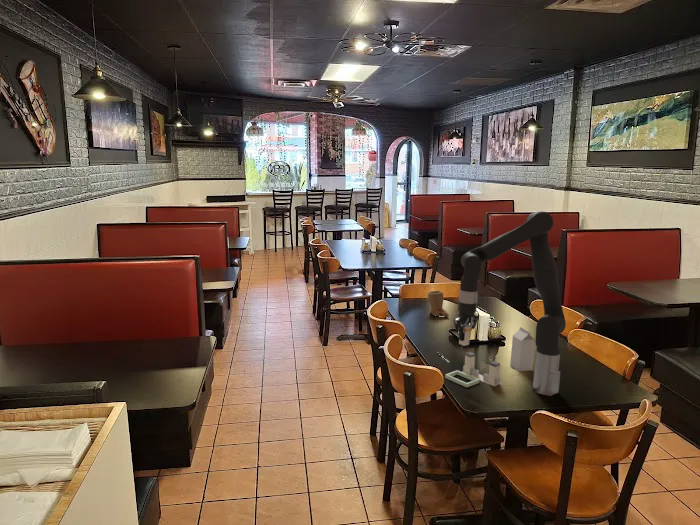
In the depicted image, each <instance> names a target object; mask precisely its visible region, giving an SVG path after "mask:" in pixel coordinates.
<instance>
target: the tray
mask: <svg viewBox="0 0 700 525" xmlns="http://www.w3.org/2000/svg"><path fill="white" fill-rule="evenodd" d="M457 375H458V376H460V377H462V378H465V379H466V380H469V382H465V381H463V380H461V379H459V378H456V377H455V376H457ZM444 378H445V379H446V380H448V381H451V382H453V383H456V384H458V385H461V386H463V387H464V388H469V387H472V386H475V385H477V384H479V383H480V380H479V379H477V378H475V377H472V376H470V375H468V374H465V373H463V371H460V370H458V369H456V370H454V371H451V372H449V373H445V374H444Z"/></svg>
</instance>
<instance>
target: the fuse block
mask: <svg viewBox="0 0 700 525" xmlns="http://www.w3.org/2000/svg"><path fill="white" fill-rule="evenodd" d="M464 356H465V357H464V358H465V359H464V365H462V372H463V373H465V374H468V375H470V376H472V377H475V378H477V379H479V382H480V381H481V382H483V383H485V384H487V385H491V386H492V387H497V386H500V385H502V383H503V382H501V378H499V377H500V367H501V363H500V362H499V361H495V360H493V361H490V362H489V366H488V372H487V373H483V375H482V374H480V370H479V369H476V368H475V363H476V353H474V352H471V351H468V352H465V355H464Z"/></svg>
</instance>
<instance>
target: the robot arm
mask: <svg viewBox="0 0 700 525" xmlns="http://www.w3.org/2000/svg"><path fill="white" fill-rule="evenodd" d="M553 226H554V218H553V216H552V214H550V213H548V212H546V211H543V210H542V211H540V210H539V211H535V212H532V213H530V214H529V215H528V216H527V218H526V221H525V222H524V223H523V224H521V225H520V226H518V227H516V228H515V229H513V230H512V229H511V230H510V231H507V232H506V233H503V234H501V235H499V236H497V237H495V238H493V239H492V240H490V241H488V242H486V243H484V244H483V245H481V246H478V247H476V248H473V249H470V250H469V251H467V252H466V253H464V254H463V255H462V256H461V258H460V263H461V266H463V275H462V276H461V279H460V286H459V293H458V305H457V310H458V316H457V318H454V319H453V324H454V328H455V331H457V332H459V334H458V341H459V340H461V341H464V337H465V333H464V332H465V328H466V327H467V324H470V327H471V329H470V336H471V335H472V334H471V332H472V331H473V330H475V329H476V325H477V322H478V320H479V315H477V314H475V313H477V307H478V306H477V305H478V288H479V278H480V275H481V272H482V263H484V262H486V261H493V260H495V259H496V258H498V257H500V256H502V255H503V254H505V253H507V252H508V251H510V250H511V249H513V248H516V246H519V245H520V244H522V243H524V242H526V241H528V240H529V244H530V251H531V252H530V253H531V256H530V257H531V264H532V274H533V281H534V285H535V287H536V290H537V291H538V293H539V296H540V298H541V299H542V305H543V316H541V317H540V318H539V319H538V320H537V323H536V327H535V345H536V351H535V360H534V362H535V363H534V370H533V372H534V373H533V380H532V381H533V383H532V387H533V389H532V390H533V392H534V393H537V394H540V395H543V396H548V397H553V396H554V395H556V394H558V393H559V388H560V379H561V370H559V368H560V360H561V350H562V348H561V346H560V345H559V335H561V334H562V333H563V332H564V331H565V329H566V326H567V324H566V318H565V313H564V309H563V305H562V300H561V293H560V292H561V291H560V284H559V273H558V267H557V264H556V260H555V257H554V255H553V252H552V250H551V246H550V242H549V232H550V231H551V230H552V229H553ZM462 324H464V325H462ZM462 327H463V330H462Z"/></svg>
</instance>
